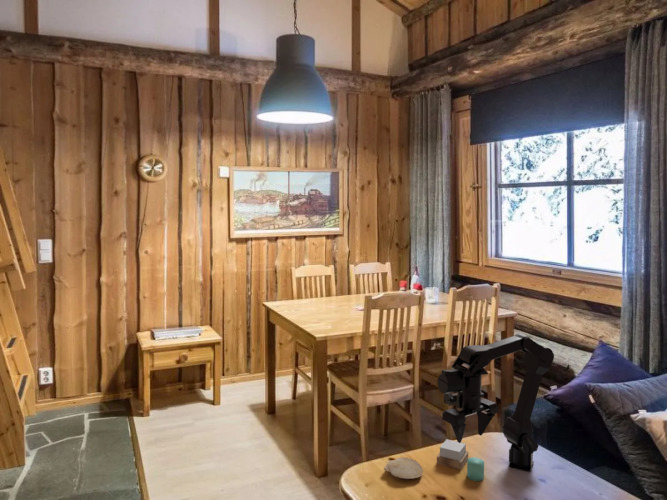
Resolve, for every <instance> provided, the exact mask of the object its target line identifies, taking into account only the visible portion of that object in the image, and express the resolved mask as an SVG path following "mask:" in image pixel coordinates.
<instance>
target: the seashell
mask: <svg viewBox="0 0 667 500" xmlns="http://www.w3.org/2000/svg"><path fill="white" fill-rule="evenodd" d="M383 470H384V471H386V472H389V473H390V474H391V475H392V477H396V478H400V479H405V480H414V479H417V478H420V477H422V475H423V472H424V470H423V468H422V465H421V463H418V461H416V460H414V459H413V458H410V457H409V458H408V457H406V456H405V457H404V456H402V457H398V458H396V459H394V460H388V462H387V463H386V465H385V466H384V468H383Z"/></svg>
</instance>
